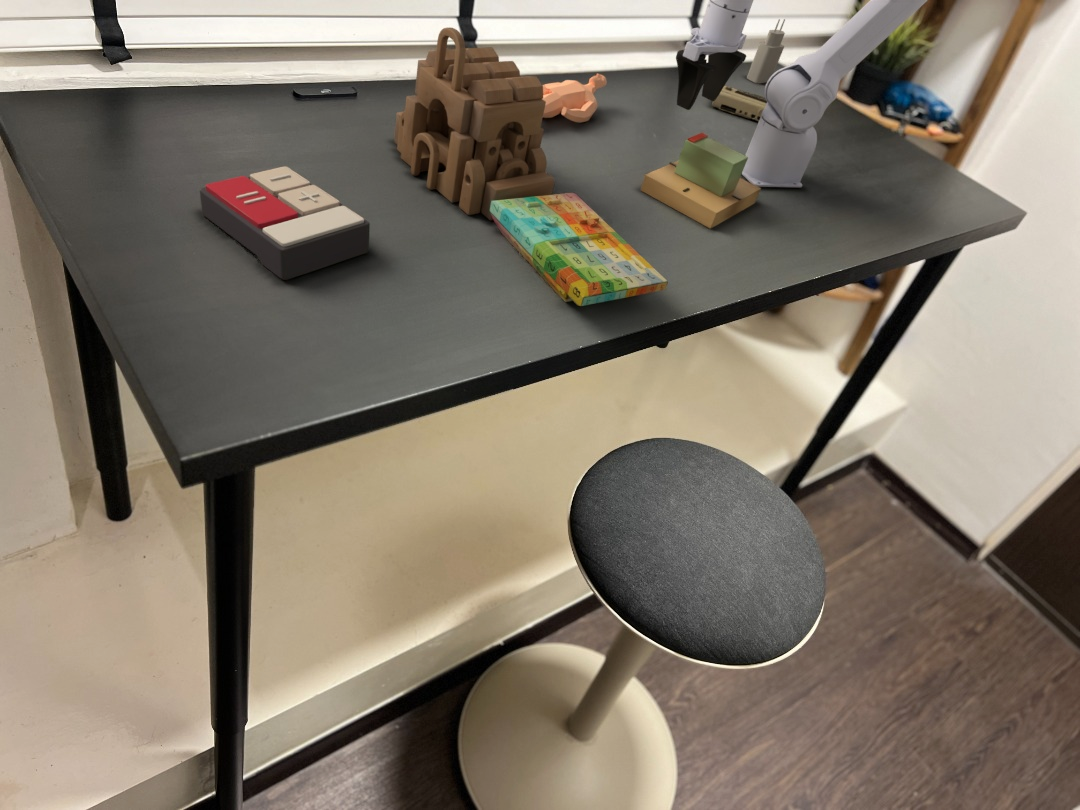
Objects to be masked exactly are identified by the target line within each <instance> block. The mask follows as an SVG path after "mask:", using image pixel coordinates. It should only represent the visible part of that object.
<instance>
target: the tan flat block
mask: <svg viewBox="0 0 1080 810" xmlns="http://www.w3.org/2000/svg"><path fill="white" fill-rule="evenodd" d="M677 163H678V160H675V161H674V162H672V161H670V162H669V164H667V165H664V166H662V167H660V168H657V169H655V170H653V171H650V172H648V173H646V174H644V178H643V181H642V184H641V187H640V191H641V193H645V194H646V195H648V196H650V197H652V198H653V199H655V200H657V201H659V202H661V203H662V204H665V205H666V206H668V207H670V208H672V209H674V210H675V211H677V212H679V213H681V214H682V215H685V216H686V217H688V218H690V219H692V220H693V221H695V222H696V223H699V224H701V225H702V226H704V227H706V228H709V229H710V230H711V229H713V228H714V227H716V226H718V225H720V224H721V223H723V222H725V221H727V220H729V219H731V218H732V217H734V216H735V215H737V214H739V213H741V212H742V211H744V210H745V209H748V208H749V207H751V206H753V205H755V204H756V201H757V199H758V197H759V194H760V192H761V190H762V187H757V186H756V185H754V184H752V183H750V182H749V181H748V180H747V179H745V178H742V177H740V179H739V181H738V184H737V186H736V189H735V190H733V191H731V192H729V193H728V194H726V195H724V196H722V197H720V196H718V195H716V194H714V193H712V192H711V191H709V190H707V189H705V188H703V187H701V186H699V185H697V184H695V183H693V182H691V181H689V180H688V179H686V178H684V177H682V176H680V175H678V174H676V173H674V172H675V169H676V166H677Z"/></svg>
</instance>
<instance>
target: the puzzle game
mask: <svg viewBox="0 0 1080 810" xmlns="http://www.w3.org/2000/svg"><path fill="white" fill-rule="evenodd" d="M489 211H490V213H491V215H492V218H493V220H492V221H493V222H494V223H495V225H496V227H497V228H498V230H499V231H500V233H501V235H503V237H504V238H505V239H506V240H507V241H508V242H509V243H510V244H511V245H512V246H513V247H514V248H515V250H516V251H517V252H518V253H519V254H520V255H521V256H522V257H523V259H525V261H527V263H528V264H529V265H530V266H531V267H532V268H533V269H534V270H535V271H536V272H537V273H538V274H539V275H540V277H541V278H542V279H543V280H544V281H545V282H546V283H547V284H548V285H549V286H550V288H552V290H554V292H555V293H556V294H557V295H558V296H559V297H560V298H561V299H562V301H564V302H565V303H569V302H574V304H575V305H576V306H578V307H583V306H589V305H595V304H600V303H605V302H610V301H614V300H620V299H625V298H629V297H635V296H640V295H645V294H651V293H656V292H660V291H666V290H667V286H668V285H669V284H668V283H669V281H668V280H667V279H666V278H665V277H664V276H663V275H662V274H660V272H658V270H656V269H655V268H654V267H653V266H652V265H651V264H650V263H649V262H648V261H647V260H646V259H645V258H644V257H643V256H642V255H641V254H640V253H639V252H637V251H636V250H635V249H634V248H633V247H632V246H631V245H630V244H629V243H628V242H627V241H626V240H625V239H624V238H623V237H622V236H621V235H620V234H618V233H617V232H616V231H615V229H613V227H611V226H610V225H609V224H608V223H607V222H606V221H605V220H604V219H603V218H602V217H601V216H600V215H598V214H597V212H596V211H594V210H593V209H592V208H591V207H590V206H589V205H588V204H587V203H586V202H585V201H584V200H583V199H582V198H581V197H580V196H579V195H577V193H574V192H564V193H557V194H556V193H555V194H553V193H552V195H544V196H534V197H524V198H515V199H505V200H495V201H491V203H490V209H489Z"/></svg>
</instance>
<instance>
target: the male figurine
mask: <svg viewBox="0 0 1080 810" xmlns="http://www.w3.org/2000/svg"><path fill="white" fill-rule="evenodd" d="M606 85H607V77H606V76H605V75H603V74H600V73H596V75H593V76H592V77H590V78H589V81H588V83H587V84H582V83H581V82H579V81H578V80H574V79H573V80H572V79H565V80H564V81H562V82H559V81H557V82H550V83H545V84H542V86H543V100H544V101H546V104H545V109H544V113H543V118H544V119H551V118H554V117H555V116H557V115H560V114H561V116H563V117H564V118H565V119H567V120H569V121H572V122H574V123H584V122H588V121H590V119H591V118H592V116H593V115H594V113H595V112H596V111H597V109H598V100H597V99H596V97H595V95H594V94H596V91H597V90H598V89H601V88H603V87H605V86H606Z"/></svg>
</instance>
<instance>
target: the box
mask: <svg viewBox="0 0 1080 810" xmlns="http://www.w3.org/2000/svg"><path fill="white" fill-rule="evenodd" d="M745 155H746V154H743V153H741V152H739V151H737V150H734V149H733V148H730V147H729V146H726V145H725V144H723V143H720V142H718V141H717V140H715V139H713V138H711V137H708V135H707V134H706V133H703V132H700V133H698V134H695V135H692V136H690V137H688V138H687V139H685V141H684V143H683V146H682V149H681V152H680V155H679V158H678V160H677V161H678V163H677V166H676V169H675V172H674V173H676V174H678V175H680V176H682V177H684V178H686V179H688V180H689V181H691V182H693V183H695V184H697V185H699V186H701V187H703V188H705V189H707V190H709V191H711V192H712V193H714V194H716V195H718V196H720V197H722V196H724V195H726V194H728V193H729V192H731V191H733V190H735V189H736V186H737V184H738V181H739V179H740V178H741V176H742V172H743V169H744V167H745V164H746V162H747V159H748V157H747V156H745Z"/></svg>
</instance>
